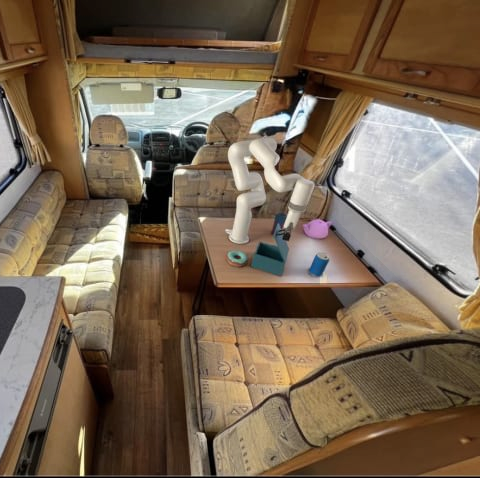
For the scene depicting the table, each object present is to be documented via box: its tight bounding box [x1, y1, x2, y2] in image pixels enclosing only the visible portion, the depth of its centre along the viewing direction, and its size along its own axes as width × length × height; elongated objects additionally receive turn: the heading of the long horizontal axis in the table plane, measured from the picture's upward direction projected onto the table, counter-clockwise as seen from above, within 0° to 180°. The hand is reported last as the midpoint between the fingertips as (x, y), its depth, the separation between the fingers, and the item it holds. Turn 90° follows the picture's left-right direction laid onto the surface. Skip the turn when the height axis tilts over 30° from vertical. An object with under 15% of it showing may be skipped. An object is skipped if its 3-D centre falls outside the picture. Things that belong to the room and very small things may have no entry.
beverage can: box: [308, 252, 330, 277], centre depth 137 cm, size 6×6×12 cm
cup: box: [271, 210, 288, 236], centre depth 167 cm, size 7×7×15 cm
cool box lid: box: [272, 223, 290, 264], centre depth 134 cm, size 16×14×6 cm
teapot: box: [302, 218, 332, 240], centre depth 169 cm, size 14×20×11 cm
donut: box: [226, 250, 249, 268], centre depth 147 cm, size 12×12×4 cm
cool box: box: [250, 241, 286, 277], centre depth 144 cm, size 16×14×9 cm
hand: (286, 236), depth 133 cm, fingers closed on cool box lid, 5 cm apart
